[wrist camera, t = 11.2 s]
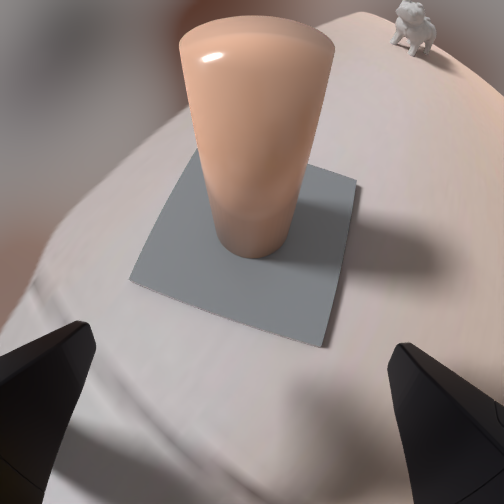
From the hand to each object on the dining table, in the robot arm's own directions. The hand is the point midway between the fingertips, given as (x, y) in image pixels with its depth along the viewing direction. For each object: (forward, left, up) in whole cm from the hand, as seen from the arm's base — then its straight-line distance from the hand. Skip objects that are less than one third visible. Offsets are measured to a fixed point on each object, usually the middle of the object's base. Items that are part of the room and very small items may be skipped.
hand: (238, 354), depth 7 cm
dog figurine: (+51, -12, -9) cm, 53 cm away
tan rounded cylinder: (+8, +2, -8) cm, 11 cm away
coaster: (+8, +2, -9) cm, 12 cm away
